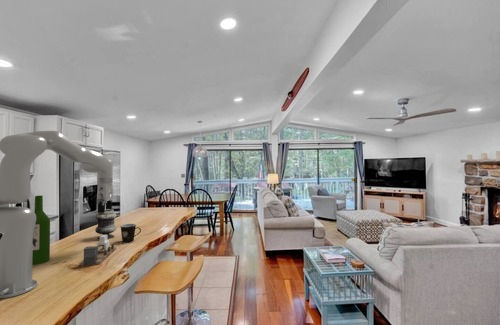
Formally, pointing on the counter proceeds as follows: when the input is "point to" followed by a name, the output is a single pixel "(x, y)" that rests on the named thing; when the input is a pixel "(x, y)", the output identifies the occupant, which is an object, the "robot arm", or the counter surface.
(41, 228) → the wine bottle
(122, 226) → the coffee mug
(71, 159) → the robot arm
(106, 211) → the apothecary jar
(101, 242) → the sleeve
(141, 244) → the counter surface
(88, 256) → the pegged board
